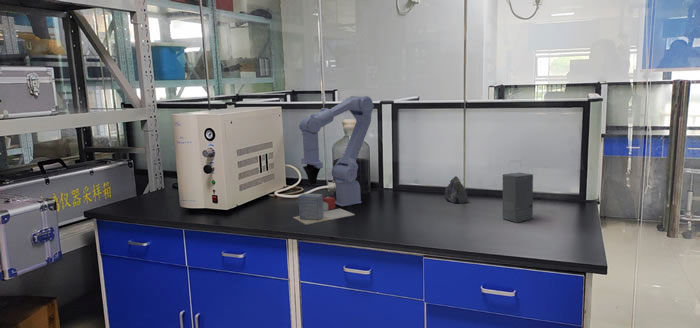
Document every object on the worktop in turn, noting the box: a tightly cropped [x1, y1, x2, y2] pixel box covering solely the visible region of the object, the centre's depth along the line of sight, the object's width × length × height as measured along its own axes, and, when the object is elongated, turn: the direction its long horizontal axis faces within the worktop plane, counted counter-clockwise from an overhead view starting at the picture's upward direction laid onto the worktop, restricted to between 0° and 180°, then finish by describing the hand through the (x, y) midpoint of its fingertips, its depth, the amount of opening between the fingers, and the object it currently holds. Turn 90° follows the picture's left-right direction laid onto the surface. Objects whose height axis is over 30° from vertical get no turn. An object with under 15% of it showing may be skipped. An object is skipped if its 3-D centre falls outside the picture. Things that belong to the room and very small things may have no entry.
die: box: [323, 196, 336, 211], centre depth 193 cm, size 4×4×4 cm
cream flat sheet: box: [292, 208, 356, 226], centre depth 181 cm, size 20×11×1 cm, turn 120°
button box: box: [323, 201, 329, 212], centre depth 190 cm, size 8×8×3 cm
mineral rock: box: [444, 175, 468, 204], centre depth 198 cm, size 13×11×10 cm
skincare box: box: [502, 172, 534, 224], centre depth 168 cm, size 8×7×16 cm
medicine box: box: [297, 193, 324, 220], centre depth 178 cm, size 8×4×9 cm, turn 71°
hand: (312, 184), depth 188 cm, fingers closed
